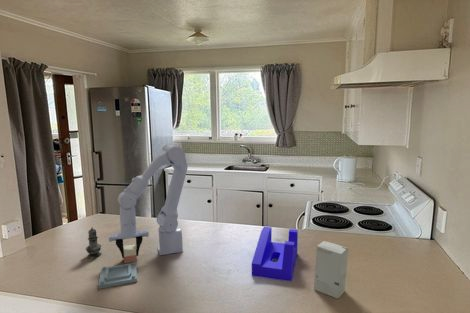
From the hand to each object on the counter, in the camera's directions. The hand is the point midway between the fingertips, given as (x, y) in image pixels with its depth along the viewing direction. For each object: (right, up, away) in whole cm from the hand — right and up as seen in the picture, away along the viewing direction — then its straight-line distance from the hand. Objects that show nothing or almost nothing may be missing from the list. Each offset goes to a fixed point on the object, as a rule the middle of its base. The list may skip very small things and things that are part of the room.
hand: (130, 256), depth 120 cm
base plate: (0, -3, -12) cm, 13 cm away
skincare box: (+71, -4, -23) cm, 75 cm away
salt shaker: (-16, -1, +4) cm, 17 cm away
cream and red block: (0, -1, 0) cm, 1 cm away
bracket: (+57, -2, -5) cm, 57 cm away
